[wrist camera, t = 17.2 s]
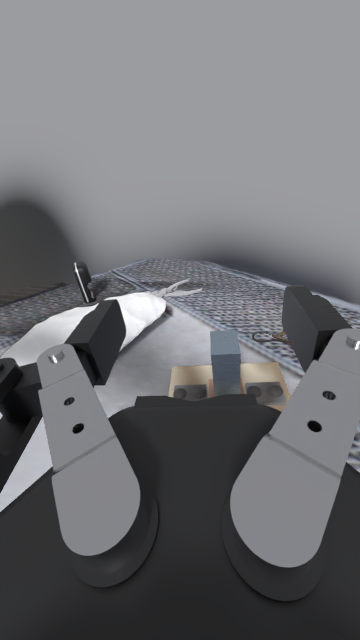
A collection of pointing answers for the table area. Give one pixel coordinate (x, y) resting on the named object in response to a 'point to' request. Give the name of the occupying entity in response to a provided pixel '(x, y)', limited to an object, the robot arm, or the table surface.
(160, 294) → the pliers
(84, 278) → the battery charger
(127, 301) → the crumpled cloth
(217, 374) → the link block
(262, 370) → the tan flat wooden board
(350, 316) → the table surface
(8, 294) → the table surface
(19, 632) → the robot arm
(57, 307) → the table surface
